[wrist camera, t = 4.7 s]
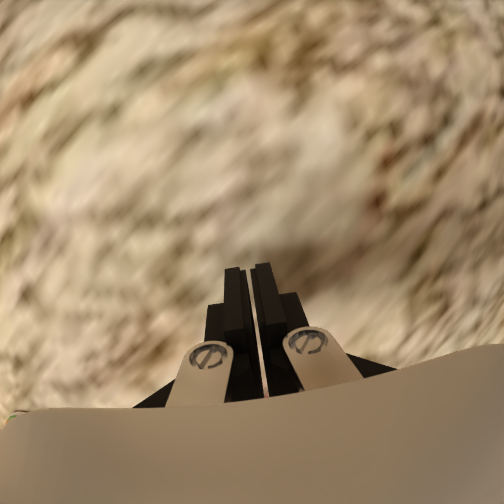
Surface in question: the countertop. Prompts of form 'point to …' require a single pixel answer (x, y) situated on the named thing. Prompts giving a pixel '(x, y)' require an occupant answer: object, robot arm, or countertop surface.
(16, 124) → the countertop surface
